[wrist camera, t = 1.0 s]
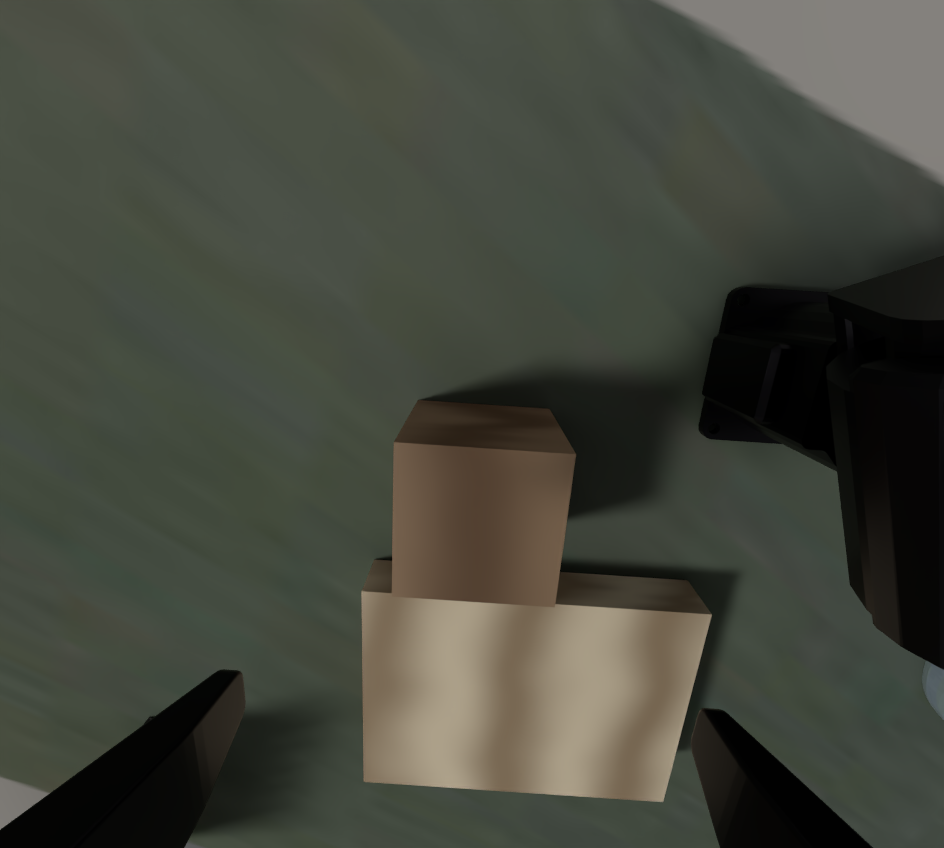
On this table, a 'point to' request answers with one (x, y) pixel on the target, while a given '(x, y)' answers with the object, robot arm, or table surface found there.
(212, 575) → the table surface
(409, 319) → the table surface
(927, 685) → the grey-blue cup
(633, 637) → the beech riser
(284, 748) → the table surface
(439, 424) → the walnut cube
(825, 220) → the table surface
